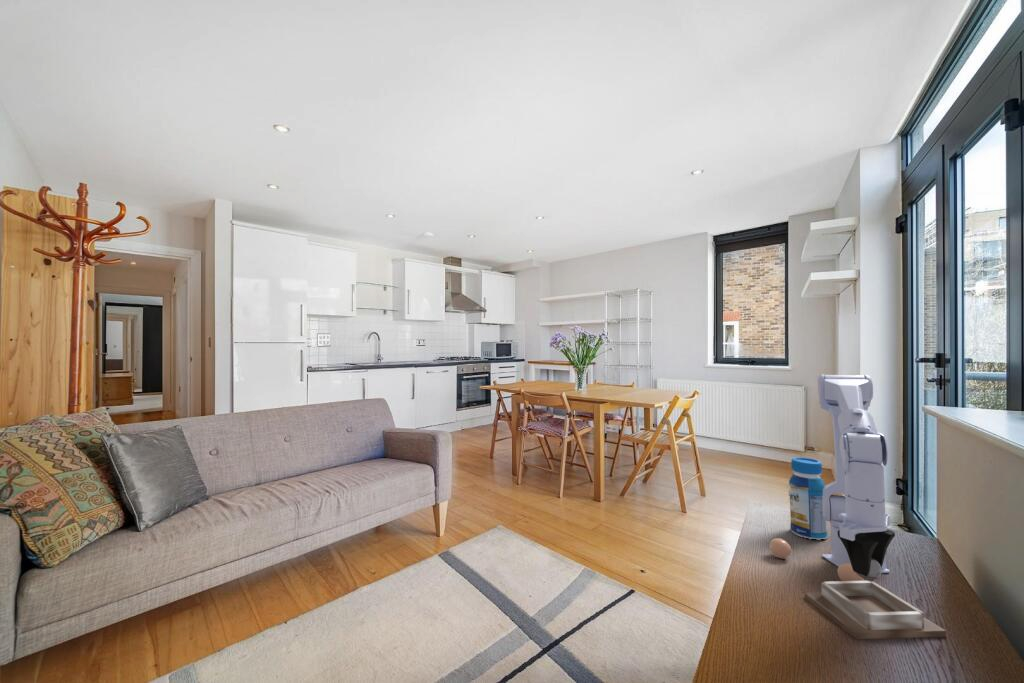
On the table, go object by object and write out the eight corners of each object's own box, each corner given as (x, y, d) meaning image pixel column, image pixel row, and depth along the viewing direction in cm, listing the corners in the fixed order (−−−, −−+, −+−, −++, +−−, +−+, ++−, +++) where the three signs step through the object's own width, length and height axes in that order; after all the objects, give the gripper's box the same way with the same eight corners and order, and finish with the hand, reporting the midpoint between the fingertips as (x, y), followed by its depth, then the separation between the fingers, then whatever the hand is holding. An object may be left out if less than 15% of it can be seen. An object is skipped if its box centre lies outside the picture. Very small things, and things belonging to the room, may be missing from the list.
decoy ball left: (852, 579, 89) (851, 558, 89) (870, 590, 85) (869, 569, 85) (832, 579, 89) (831, 559, 89) (849, 591, 85) (848, 569, 85)
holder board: (882, 595, 83) (881, 578, 83) (946, 636, 71) (945, 616, 71) (804, 597, 83) (804, 580, 83) (855, 639, 71) (854, 618, 71)
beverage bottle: (830, 544, 105) (827, 465, 106) (790, 536, 110) (788, 461, 110) (826, 531, 112) (823, 458, 113) (789, 525, 117) (786, 454, 117)
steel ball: (856, 571, 80) (856, 548, 80) (885, 582, 76) (885, 557, 77) (846, 575, 78) (846, 551, 78) (876, 586, 74) (876, 561, 75)
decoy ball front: (783, 552, 101) (782, 534, 101) (795, 562, 97) (795, 543, 97) (765, 553, 101) (765, 535, 101) (777, 562, 96) (776, 543, 97)
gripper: (858, 485, 84) (860, 551, 84) (820, 497, 78) (822, 569, 77) (903, 495, 78) (905, 567, 78) (865, 509, 72) (868, 588, 71)
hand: (867, 569), depth 77 cm, fingers closed on steel ball, 4 cm apart
